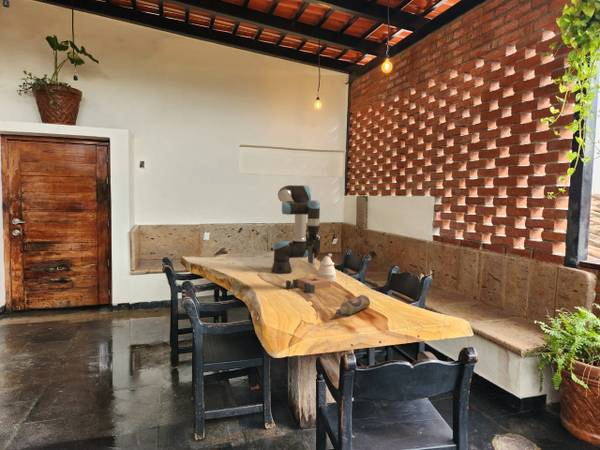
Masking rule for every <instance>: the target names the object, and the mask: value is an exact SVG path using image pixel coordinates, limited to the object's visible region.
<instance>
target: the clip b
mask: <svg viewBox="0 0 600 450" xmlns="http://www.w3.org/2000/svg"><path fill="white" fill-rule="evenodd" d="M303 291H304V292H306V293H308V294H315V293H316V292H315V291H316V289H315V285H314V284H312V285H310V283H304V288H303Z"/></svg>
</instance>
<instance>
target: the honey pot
mask: <svg viewBox="0 0 600 450" xmlns="http://www.w3.org/2000/svg"><path fill="white" fill-rule="evenodd" d="M332 256H333V254H332V253H328V254H327V255H325V256H324V257H323V258H322V259H321V261H320V263H319V264H320V265H319V266H318V270H317V275H316V276H318V277H321V278H324V279H327V280H330V281H331V283H333V282H332V281H334V282H336V281H337V271H336V269H335V266H334V265H335V262H333V261H332V258H331V257H332ZM335 280H336V281H335Z"/></svg>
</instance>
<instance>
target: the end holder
mask: <svg viewBox="0 0 600 450" xmlns="http://www.w3.org/2000/svg"><path fill="white" fill-rule="evenodd" d="M295 280H298V286H299V287H301V288H303V289H304V283H310V285H312V284H314V285H315V290H320V289H327V288H331V287H332V282H331V281H330V280H327V279H324V278H321V277H318V276H317V275H315V276H307V277H299V278H298V277H297V278H295Z"/></svg>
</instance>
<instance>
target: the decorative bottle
mask: <svg viewBox="0 0 600 450" xmlns="http://www.w3.org/2000/svg"><path fill="white" fill-rule="evenodd" d="M370 306H371V300H370V298H369V297H368V296H367V295H364V294H360V295H359V296H356V297H352V298H350V299H348V300H346V301H344V302H342V303H341V305H340V308H338V309H337V310H336V311H335V314H336V315H341V316H342V315H346V316H351V315H353V314H355V313H357V312H359V311H362V310H365V309H367V308H369V307H370Z"/></svg>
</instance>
